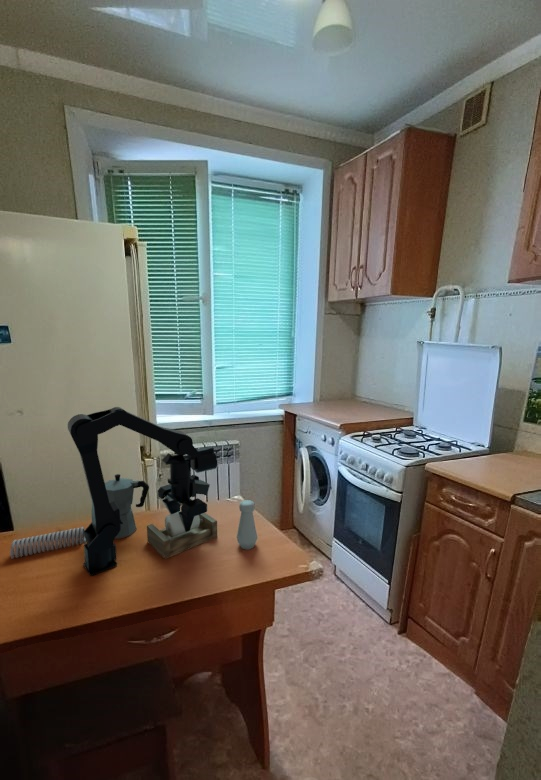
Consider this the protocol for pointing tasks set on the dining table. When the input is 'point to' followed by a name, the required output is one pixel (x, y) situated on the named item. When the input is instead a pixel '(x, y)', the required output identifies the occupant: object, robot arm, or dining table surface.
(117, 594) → the dining table surface
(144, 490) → the coffeepot
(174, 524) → the cylinder
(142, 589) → the dining table surface
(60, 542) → the coil
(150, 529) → the cradle
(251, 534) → the salt shaker
